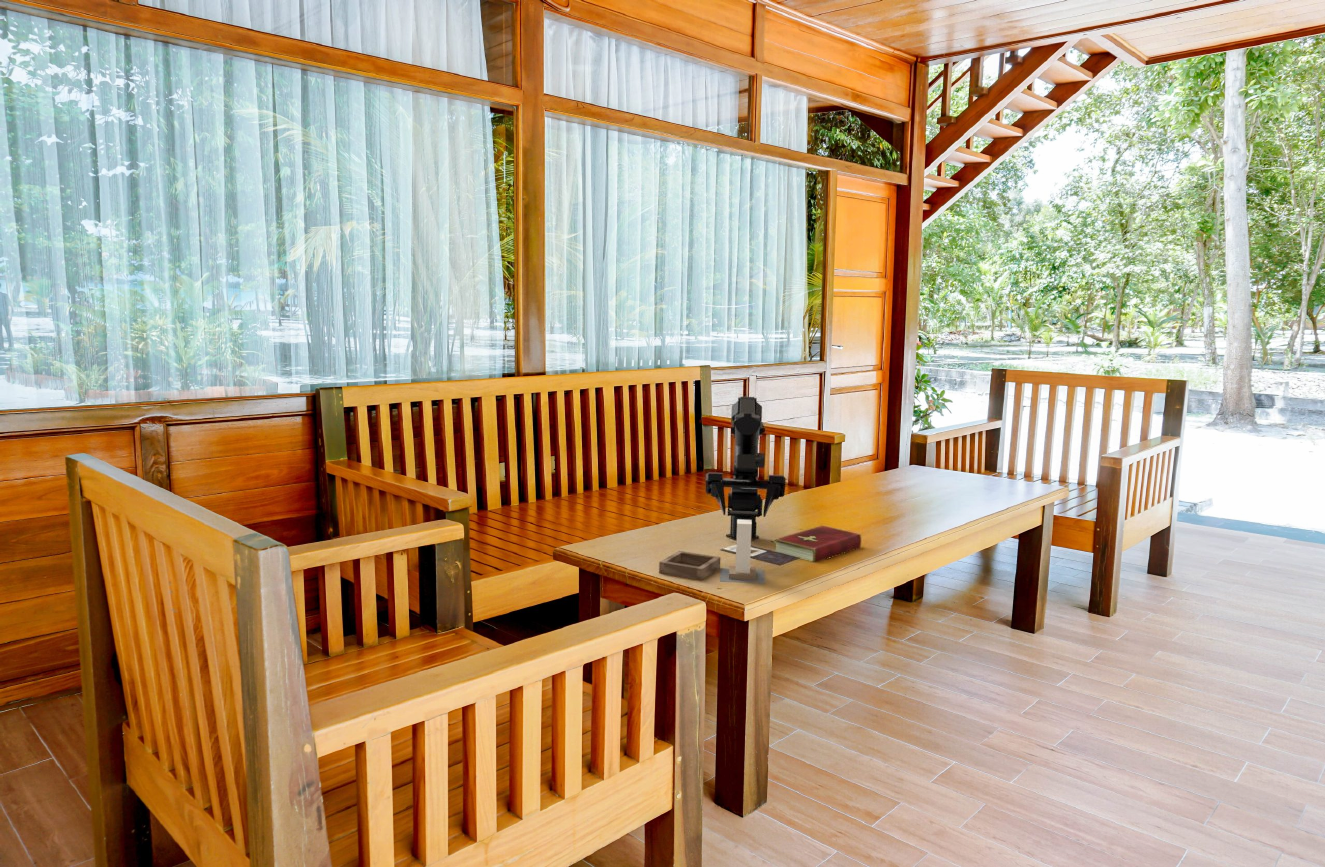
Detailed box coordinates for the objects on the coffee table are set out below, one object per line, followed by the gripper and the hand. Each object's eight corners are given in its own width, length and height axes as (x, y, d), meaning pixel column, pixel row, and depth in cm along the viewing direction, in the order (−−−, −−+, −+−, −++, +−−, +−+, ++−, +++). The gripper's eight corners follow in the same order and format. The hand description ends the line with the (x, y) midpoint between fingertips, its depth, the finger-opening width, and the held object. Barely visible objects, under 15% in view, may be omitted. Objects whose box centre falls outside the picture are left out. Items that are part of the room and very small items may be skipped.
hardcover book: (860, 549, 227) (861, 533, 226) (813, 565, 212) (814, 548, 211) (821, 539, 235) (822, 524, 234) (773, 554, 220) (774, 537, 219)
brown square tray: (678, 562, 210) (679, 550, 210) (720, 568, 206) (720, 557, 205) (659, 573, 201) (659, 561, 200) (701, 581, 196) (702, 569, 196)
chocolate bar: (779, 565, 208) (719, 549, 220) (779, 569, 209) (719, 553, 220) (800, 557, 215) (741, 542, 227) (800, 561, 215) (741, 546, 227)
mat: (720, 569, 205) (720, 567, 205) (764, 571, 205) (764, 569, 205) (719, 582, 196) (719, 581, 196) (765, 584, 195) (765, 583, 195)
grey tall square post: (729, 570, 203) (731, 517, 201) (755, 572, 203) (757, 519, 201) (728, 578, 197) (730, 524, 196) (755, 580, 197) (758, 525, 195)
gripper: (707, 438, 208) (703, 494, 199) (786, 441, 207) (787, 497, 198) (707, 465, 217) (704, 520, 208) (784, 468, 216) (784, 523, 206)
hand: (744, 515), depth 205 cm, fingers open, 9 cm apart
